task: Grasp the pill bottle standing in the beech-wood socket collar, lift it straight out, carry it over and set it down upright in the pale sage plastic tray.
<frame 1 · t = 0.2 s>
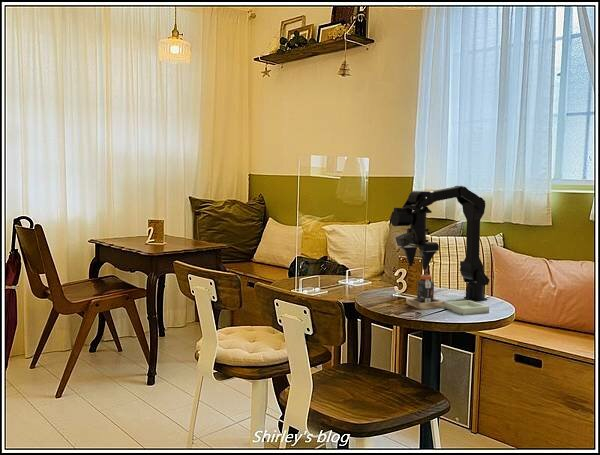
hand: (417, 267, 213), 14 cm above the table, fingers open, 9 cm apart
socket collar: (425, 305, 213), on the table
pill bottle: (425, 306, 213), resting in socket collar
tray: (466, 310, 206), on the table
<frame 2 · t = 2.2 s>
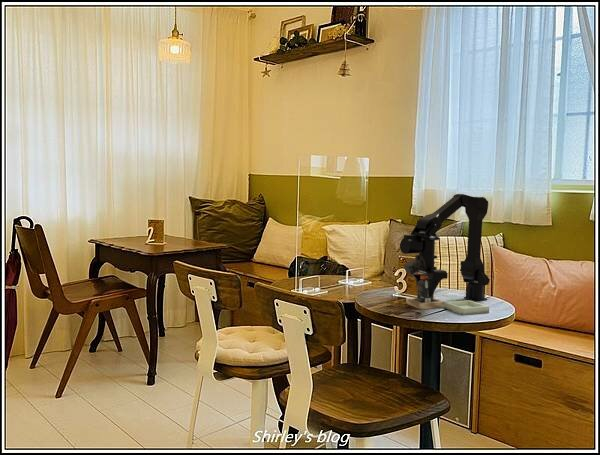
hand: (425, 294, 213), 4 cm above the table, fingers closed on pill bottle, 6 cm apart
pill bottle: (425, 306, 213), resting in socket collar, touching gripper
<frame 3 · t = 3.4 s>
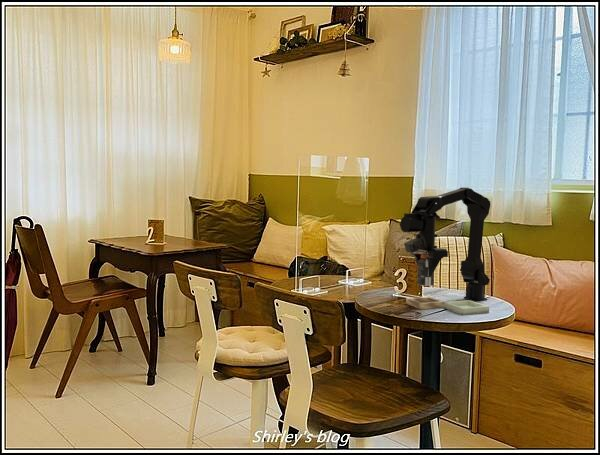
hand: (425, 273, 212), 12 cm above the table, fingers closed on pill bottle, 6 cm apart
pill bottle: (425, 285, 213), point 7 cm above the table, touching gripper
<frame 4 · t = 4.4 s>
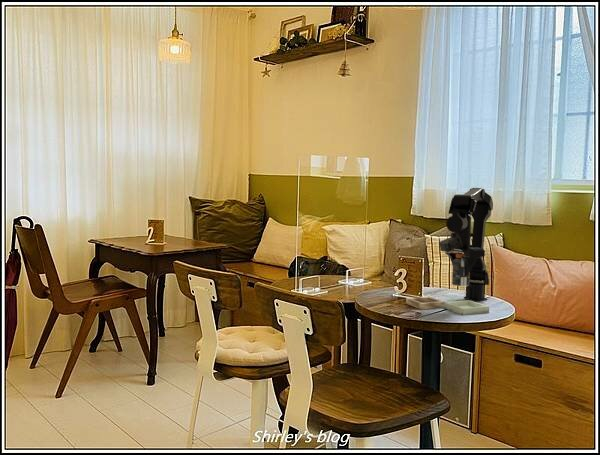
hand: (461, 273, 206), 13 cm above the table, fingers closed on pill bottle, 6 cm apart
pill bottle: (460, 285, 206), point 9 cm above the table, touching gripper
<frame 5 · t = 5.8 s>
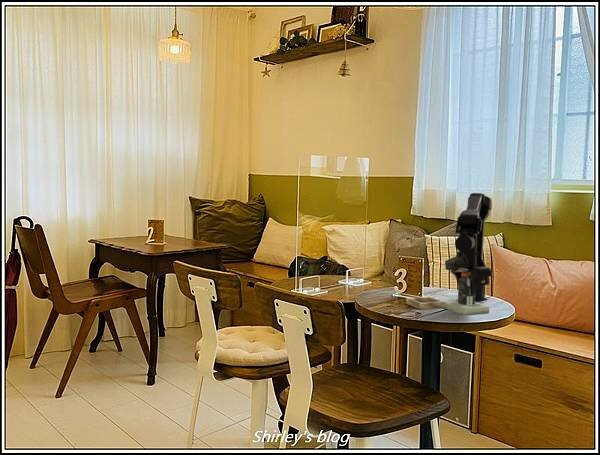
hand: (466, 292, 206), 6 cm above the table, fingers closed on pill bottle, 6 cm apart
pill bottle: (466, 304, 206), point 2 cm above the table, touching gripper
when the fingers open (5 cm above the table, at t = 6.8 s): pill bottle stays where it is, resting on tray.
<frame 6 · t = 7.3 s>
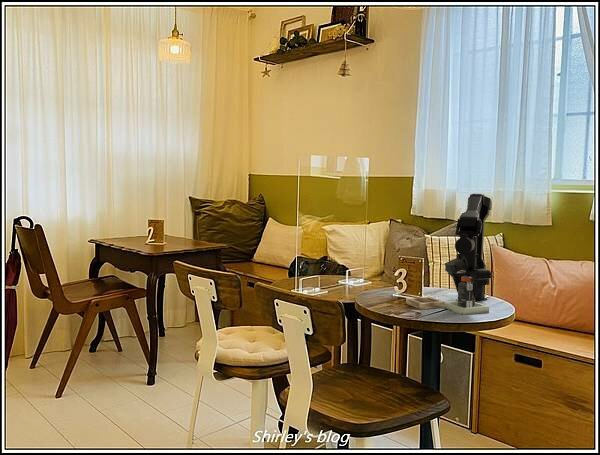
hand: (466, 294, 206), 5 cm above the table, fingers open, 9 cm apart
pill bottle: (466, 308, 206), resting on tray
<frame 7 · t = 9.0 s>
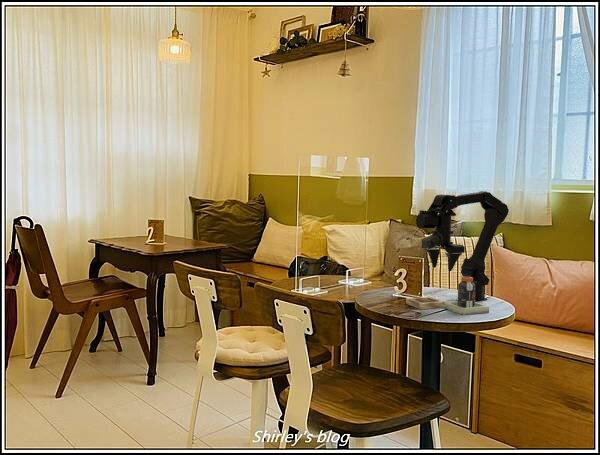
hand: (441, 269, 218), 13 cm above the table, fingers open, 9 cm apart
nothing on the table moved.
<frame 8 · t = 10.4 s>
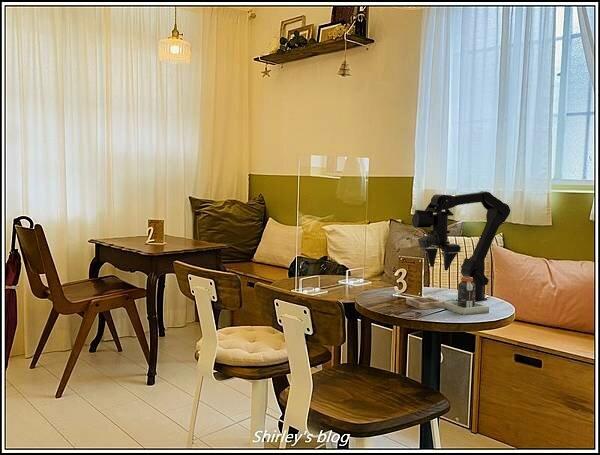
hand: (438, 268, 220), 12 cm above the table, fingers open, 9 cm apart
nothing on the table moved.
at the end: pill bottle inside the target area on the tray (0.2 cm from its centre), point 0.4 cm above the tray's base; pill bottle tilted 0°; the gripper is holding nothing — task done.
